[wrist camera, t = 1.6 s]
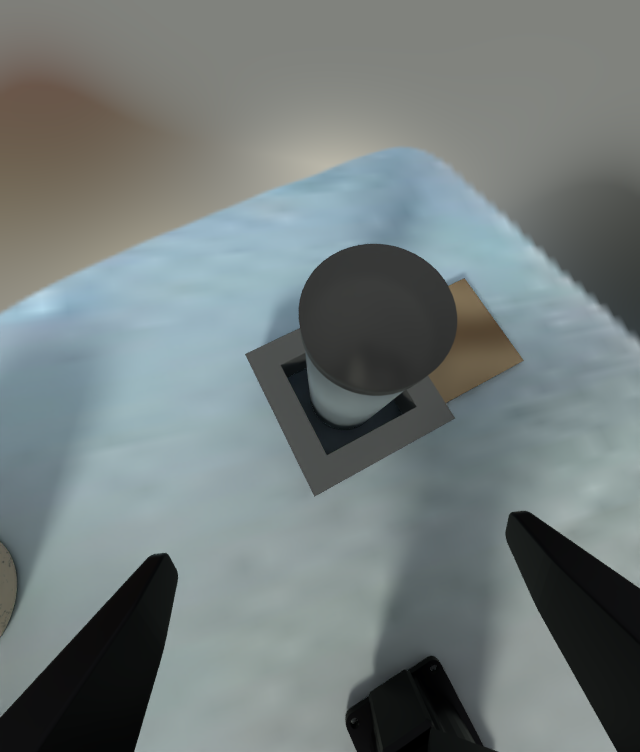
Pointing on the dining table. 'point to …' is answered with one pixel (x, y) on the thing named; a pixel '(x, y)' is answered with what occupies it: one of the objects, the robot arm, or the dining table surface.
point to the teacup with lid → (6, 587)
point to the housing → (324, 471)
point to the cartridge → (372, 330)
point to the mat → (472, 347)
